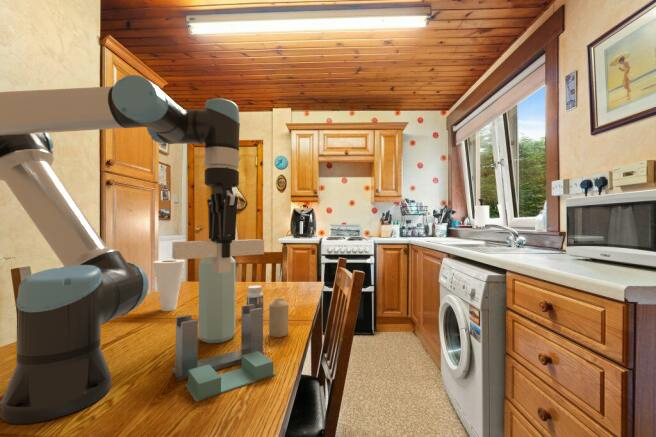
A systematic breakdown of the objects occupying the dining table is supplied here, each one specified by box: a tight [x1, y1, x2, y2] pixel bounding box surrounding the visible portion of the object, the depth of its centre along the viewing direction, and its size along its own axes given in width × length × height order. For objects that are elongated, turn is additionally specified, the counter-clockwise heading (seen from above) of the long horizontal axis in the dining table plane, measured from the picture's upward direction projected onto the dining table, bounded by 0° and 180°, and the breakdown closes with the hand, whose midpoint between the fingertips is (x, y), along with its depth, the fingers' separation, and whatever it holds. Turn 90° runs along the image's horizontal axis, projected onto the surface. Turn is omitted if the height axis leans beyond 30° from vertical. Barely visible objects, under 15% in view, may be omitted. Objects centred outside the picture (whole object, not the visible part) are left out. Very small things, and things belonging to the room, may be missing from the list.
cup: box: [152, 259, 186, 312], centre depth 118 cm, size 11×11×18 cm
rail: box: [171, 238, 265, 260], centre depth 72 cm, size 20×3×4 cm, turn 128°
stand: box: [172, 304, 265, 382], centre depth 71 cm, size 19×6×12 cm, turn 128°
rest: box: [185, 351, 276, 403], centre depth 64 cm, size 16×7×3 cm, turn 128°
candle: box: [268, 298, 289, 338], centre depth 91 cm, size 6×6×10 cm
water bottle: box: [198, 256, 237, 344], centre depth 88 cm, size 10×10×25 cm
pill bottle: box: [246, 285, 264, 309], centre depth 110 cm, size 6×6×10 cm
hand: (221, 271), depth 72 cm, fingers closed on rail, 3 cm apart
